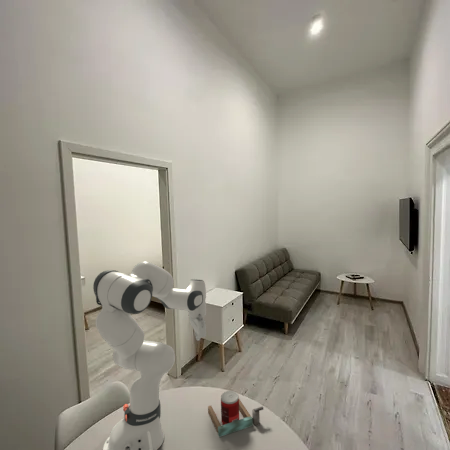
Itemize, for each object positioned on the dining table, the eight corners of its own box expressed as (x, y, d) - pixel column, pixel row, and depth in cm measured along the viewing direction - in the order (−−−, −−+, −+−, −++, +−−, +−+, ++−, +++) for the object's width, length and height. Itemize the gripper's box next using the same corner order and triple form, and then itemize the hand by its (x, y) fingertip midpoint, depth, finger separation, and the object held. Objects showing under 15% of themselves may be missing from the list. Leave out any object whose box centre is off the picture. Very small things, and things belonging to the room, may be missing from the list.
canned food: (241, 416, 113) (240, 391, 113) (237, 430, 106) (236, 403, 106) (224, 414, 115) (223, 389, 115) (219, 427, 108) (218, 401, 108)
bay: (219, 438, 102) (219, 423, 102) (208, 412, 116) (207, 399, 116) (265, 423, 109) (264, 409, 109) (248, 400, 124) (248, 388, 124)
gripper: (209, 317, 120) (209, 347, 119) (198, 305, 139) (198, 331, 139) (196, 319, 117) (196, 349, 117) (186, 306, 137) (187, 333, 136)
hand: (197, 339), depth 128 cm, fingers closed
